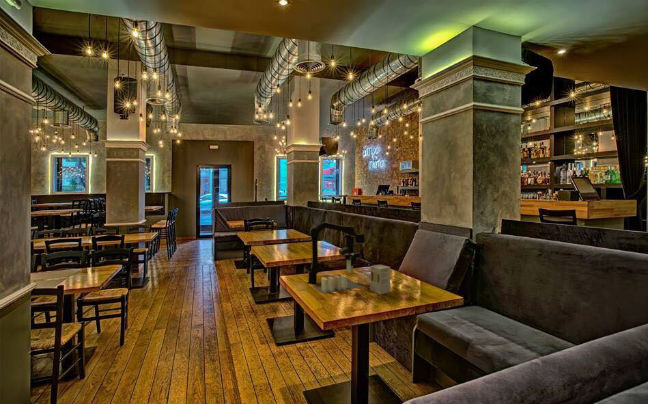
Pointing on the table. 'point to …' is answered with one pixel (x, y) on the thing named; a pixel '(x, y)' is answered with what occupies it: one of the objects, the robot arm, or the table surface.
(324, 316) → the table surface
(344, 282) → the domino
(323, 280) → the domino
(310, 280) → the robot arm
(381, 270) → the supplement box
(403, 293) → the table surface
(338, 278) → the domino
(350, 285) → the mat
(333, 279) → the domino
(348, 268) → the domino
